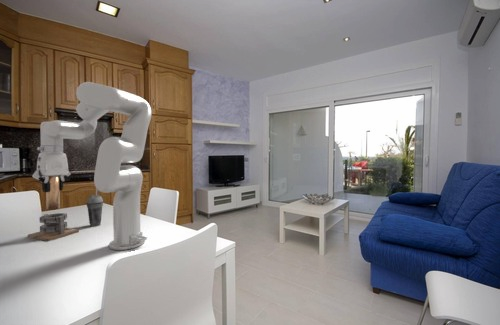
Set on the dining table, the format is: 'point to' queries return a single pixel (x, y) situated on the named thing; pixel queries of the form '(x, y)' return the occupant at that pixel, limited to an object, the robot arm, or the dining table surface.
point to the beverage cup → (95, 209)
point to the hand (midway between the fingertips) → (53, 190)
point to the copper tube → (53, 193)
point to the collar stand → (53, 227)
